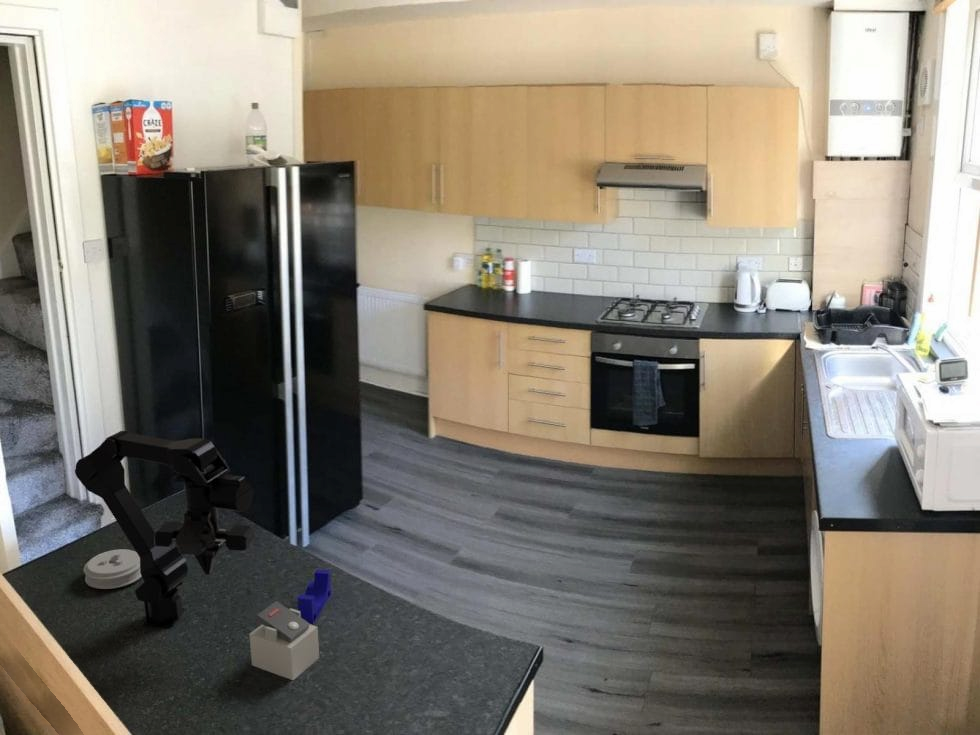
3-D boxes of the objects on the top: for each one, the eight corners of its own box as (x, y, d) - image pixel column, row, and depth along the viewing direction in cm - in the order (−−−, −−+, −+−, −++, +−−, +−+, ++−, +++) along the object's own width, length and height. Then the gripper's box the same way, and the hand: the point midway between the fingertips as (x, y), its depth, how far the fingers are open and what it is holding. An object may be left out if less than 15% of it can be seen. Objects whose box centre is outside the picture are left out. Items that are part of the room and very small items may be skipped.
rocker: (256, 619, 178) (257, 614, 177) (275, 605, 182) (276, 600, 182) (289, 643, 175) (291, 638, 174) (308, 628, 180) (310, 623, 179)
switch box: (252, 665, 180) (248, 622, 177) (279, 643, 187) (276, 602, 184) (293, 680, 175) (290, 637, 173) (319, 658, 182) (316, 616, 179)
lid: (73, 582, 209) (70, 562, 208) (121, 559, 219) (118, 539, 218) (110, 598, 203) (107, 578, 201) (157, 573, 213) (155, 553, 212)
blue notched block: (311, 592, 206) (310, 568, 204) (331, 594, 205) (330, 570, 203) (292, 623, 194) (290, 597, 192) (313, 625, 194) (311, 599, 192)
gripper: (136, 519, 176) (145, 592, 181) (232, 524, 174) (239, 597, 179) (162, 494, 186) (170, 563, 191) (253, 498, 185) (258, 568, 189)
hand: (208, 573), depth 187 cm, fingers closed
